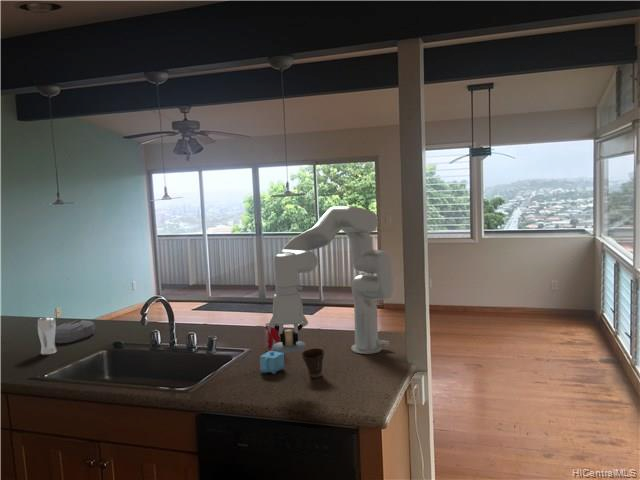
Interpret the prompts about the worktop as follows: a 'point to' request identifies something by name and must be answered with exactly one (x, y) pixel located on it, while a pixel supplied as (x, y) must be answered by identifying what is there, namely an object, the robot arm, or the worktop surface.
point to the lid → (289, 344)
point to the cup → (314, 361)
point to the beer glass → (47, 335)
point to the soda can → (270, 337)
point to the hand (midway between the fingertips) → (289, 343)
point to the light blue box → (272, 362)
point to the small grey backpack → (74, 331)
